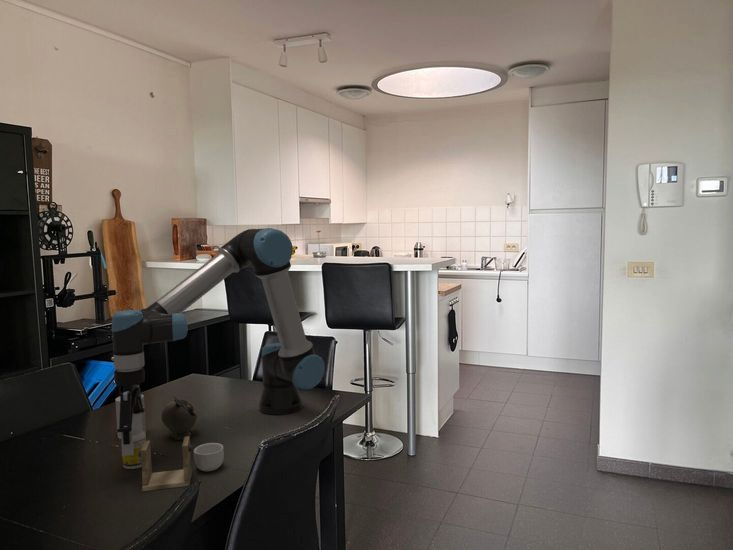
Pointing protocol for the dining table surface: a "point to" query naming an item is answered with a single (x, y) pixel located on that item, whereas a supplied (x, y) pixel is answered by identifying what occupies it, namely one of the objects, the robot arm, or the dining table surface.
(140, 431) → the pill bottle
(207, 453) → the teacup
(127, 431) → the robot arm
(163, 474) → the holder
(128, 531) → the dining table surface
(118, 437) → the white cylinder
